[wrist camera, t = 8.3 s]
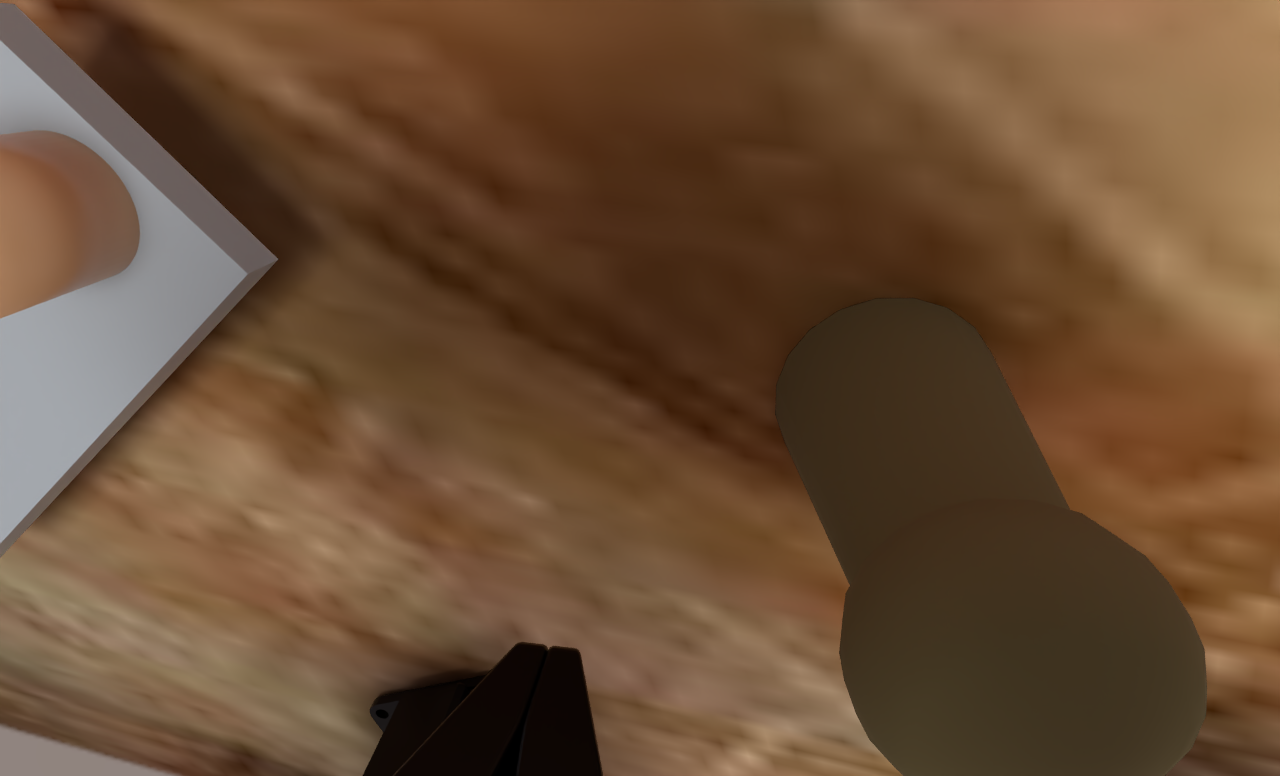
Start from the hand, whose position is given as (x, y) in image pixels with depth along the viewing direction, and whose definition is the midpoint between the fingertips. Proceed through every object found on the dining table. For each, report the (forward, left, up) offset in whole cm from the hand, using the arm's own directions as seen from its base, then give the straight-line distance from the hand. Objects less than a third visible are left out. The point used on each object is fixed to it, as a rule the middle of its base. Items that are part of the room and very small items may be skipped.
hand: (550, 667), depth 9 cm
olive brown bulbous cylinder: (-4, -6, -12) cm, 14 cm away
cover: (+6, +16, -9) cm, 19 cm away
